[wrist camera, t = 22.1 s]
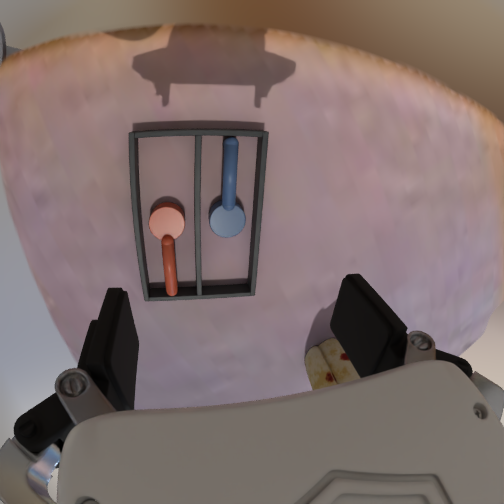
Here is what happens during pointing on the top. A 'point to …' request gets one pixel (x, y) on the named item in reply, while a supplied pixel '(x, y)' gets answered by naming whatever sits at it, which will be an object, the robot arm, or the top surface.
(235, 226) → the blue spoon
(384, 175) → the top surface
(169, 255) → the terracotta spoon
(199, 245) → the sorting tray
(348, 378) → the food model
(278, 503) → the robot arm
